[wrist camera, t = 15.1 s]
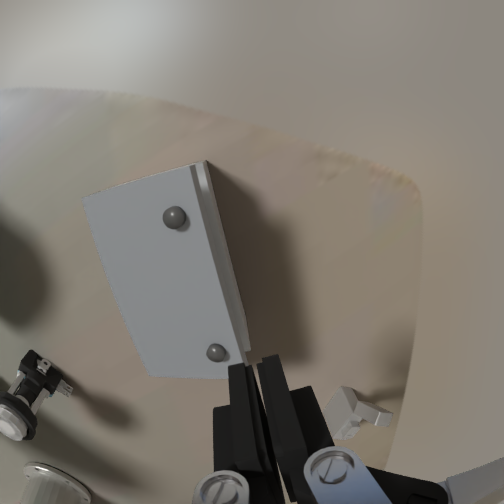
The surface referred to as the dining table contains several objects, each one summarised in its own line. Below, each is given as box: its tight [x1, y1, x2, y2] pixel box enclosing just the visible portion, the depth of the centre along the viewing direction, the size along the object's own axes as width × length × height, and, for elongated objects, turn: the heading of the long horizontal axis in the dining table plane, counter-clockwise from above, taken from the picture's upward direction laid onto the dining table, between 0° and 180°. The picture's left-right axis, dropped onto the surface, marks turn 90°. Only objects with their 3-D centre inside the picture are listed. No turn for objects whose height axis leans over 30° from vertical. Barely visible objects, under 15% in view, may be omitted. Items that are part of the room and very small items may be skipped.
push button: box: [0, 350, 73, 441], centre depth 24 cm, size 7×5×10 cm
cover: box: [81, 165, 249, 379], centre depth 20 cm, size 14×8×1 cm, turn 13°
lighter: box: [323, 386, 393, 440], centre depth 29 cm, size 7×2×8 cm, turn 158°
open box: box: [94, 160, 251, 352], centre depth 24 cm, size 14×8×5 cm, turn 12°
